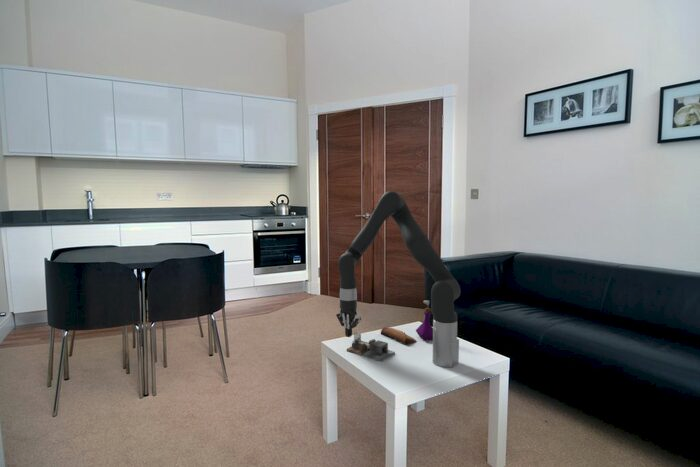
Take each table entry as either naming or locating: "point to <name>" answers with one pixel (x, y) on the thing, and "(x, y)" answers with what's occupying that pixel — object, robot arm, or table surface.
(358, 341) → the steel bolt
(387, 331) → the sunglasses case
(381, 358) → the plate
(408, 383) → the table surface
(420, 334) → the perfume bottle
